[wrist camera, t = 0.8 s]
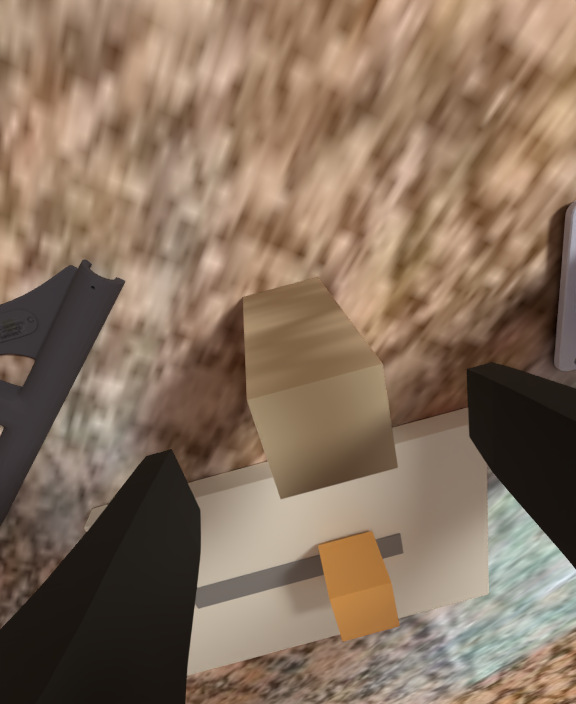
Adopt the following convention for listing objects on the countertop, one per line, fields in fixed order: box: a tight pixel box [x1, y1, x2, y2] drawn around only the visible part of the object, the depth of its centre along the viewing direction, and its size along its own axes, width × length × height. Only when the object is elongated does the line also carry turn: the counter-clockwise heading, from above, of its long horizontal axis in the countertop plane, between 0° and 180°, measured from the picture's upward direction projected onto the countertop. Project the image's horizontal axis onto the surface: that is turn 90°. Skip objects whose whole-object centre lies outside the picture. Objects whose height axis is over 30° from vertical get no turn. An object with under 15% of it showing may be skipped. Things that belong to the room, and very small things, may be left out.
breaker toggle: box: [318, 531, 400, 641], centre depth 20 cm, size 3×4×3 cm
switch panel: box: [84, 407, 489, 676], centre depth 22 cm, size 20×14×1 cm
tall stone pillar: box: [243, 277, 398, 499], centre depth 13 cm, size 3×3×8 cm
